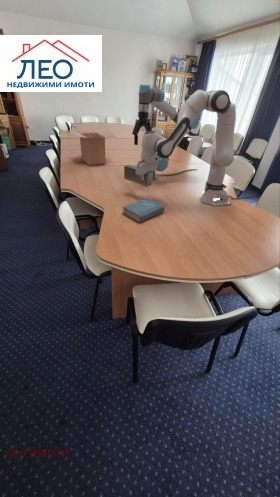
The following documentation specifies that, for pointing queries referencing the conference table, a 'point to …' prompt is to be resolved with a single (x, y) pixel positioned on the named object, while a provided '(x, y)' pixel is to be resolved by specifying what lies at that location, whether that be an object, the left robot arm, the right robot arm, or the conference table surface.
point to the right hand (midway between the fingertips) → (146, 178)
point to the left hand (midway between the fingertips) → (141, 143)
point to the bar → (137, 176)
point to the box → (92, 146)
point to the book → (142, 209)
